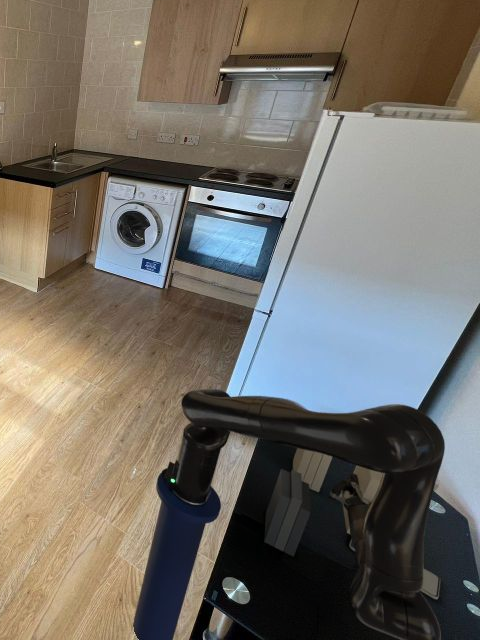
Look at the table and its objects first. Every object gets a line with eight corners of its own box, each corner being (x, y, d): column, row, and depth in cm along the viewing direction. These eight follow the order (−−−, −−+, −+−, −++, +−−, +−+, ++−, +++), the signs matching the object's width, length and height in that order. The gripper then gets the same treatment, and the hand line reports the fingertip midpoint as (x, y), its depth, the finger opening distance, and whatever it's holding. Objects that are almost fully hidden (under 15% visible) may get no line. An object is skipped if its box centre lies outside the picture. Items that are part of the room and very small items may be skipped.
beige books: (293, 481, 119) (309, 435, 114) (292, 460, 127) (308, 416, 122) (318, 492, 116) (337, 445, 111) (316, 470, 123) (334, 425, 118)
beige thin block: (346, 532, 91) (371, 477, 86) (341, 499, 99) (364, 447, 94) (364, 541, 89) (390, 485, 84) (358, 506, 97) (381, 453, 92)
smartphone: (438, 599, 89) (349, 545, 100) (437, 602, 89) (348, 548, 100) (441, 577, 93) (355, 528, 104) (439, 580, 94) (354, 531, 105)
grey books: (264, 542, 101) (281, 491, 96) (265, 513, 109) (282, 465, 104) (293, 556, 98) (313, 505, 93) (293, 526, 106) (311, 477, 100)
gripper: (434, 545, 75) (413, 484, 88) (335, 503, 83) (329, 453, 96) (419, 573, 77) (400, 510, 91) (324, 529, 86) (319, 477, 99)
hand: (363, 481), depth 93 cm, fingers closed on beige thin block, 3 cm apart
